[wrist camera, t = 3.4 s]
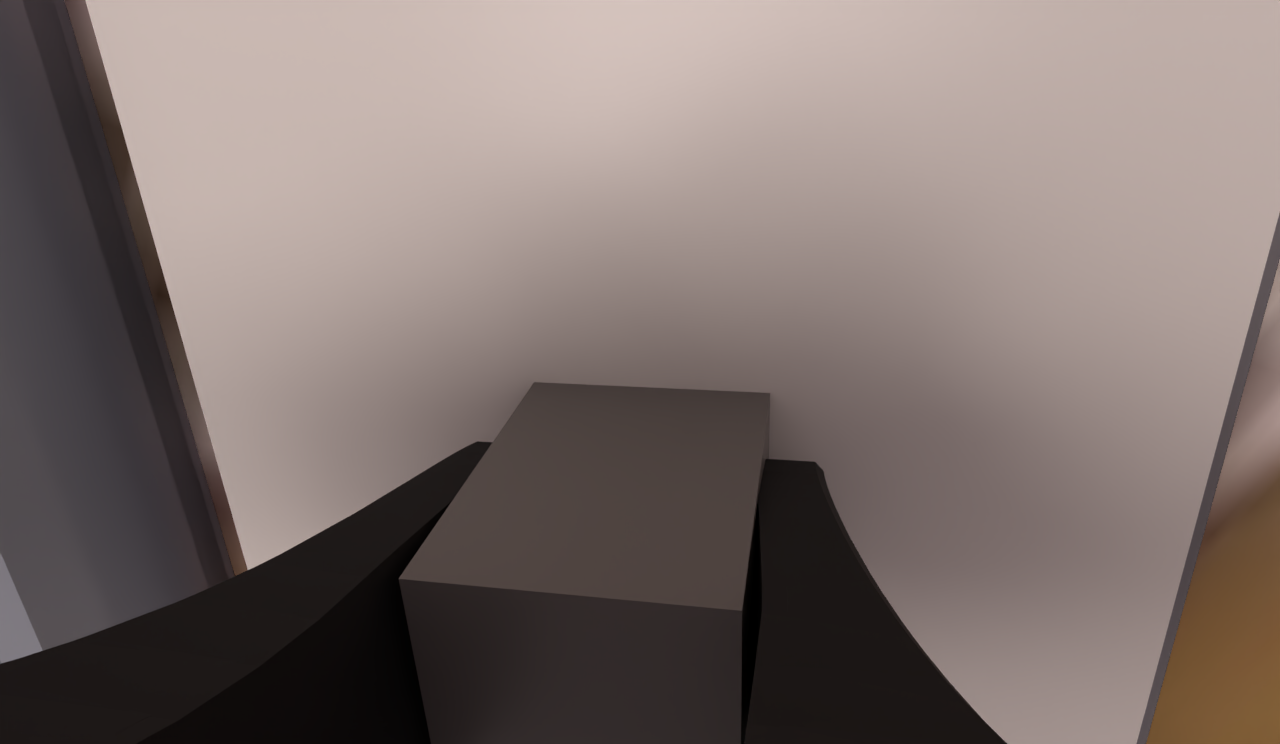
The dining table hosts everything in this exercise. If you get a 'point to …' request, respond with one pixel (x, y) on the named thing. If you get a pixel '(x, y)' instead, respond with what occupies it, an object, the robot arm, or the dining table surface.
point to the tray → (82, 372)
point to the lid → (719, 319)
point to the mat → (1213, 476)
